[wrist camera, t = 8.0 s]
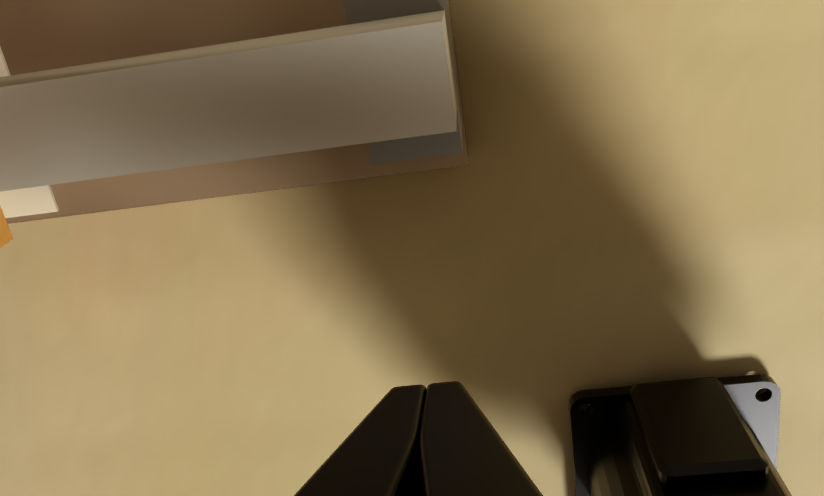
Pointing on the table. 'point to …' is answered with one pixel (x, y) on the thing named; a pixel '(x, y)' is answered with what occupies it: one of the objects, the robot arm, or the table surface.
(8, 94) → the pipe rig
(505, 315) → the table surface
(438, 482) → the robot arm
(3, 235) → the collar
